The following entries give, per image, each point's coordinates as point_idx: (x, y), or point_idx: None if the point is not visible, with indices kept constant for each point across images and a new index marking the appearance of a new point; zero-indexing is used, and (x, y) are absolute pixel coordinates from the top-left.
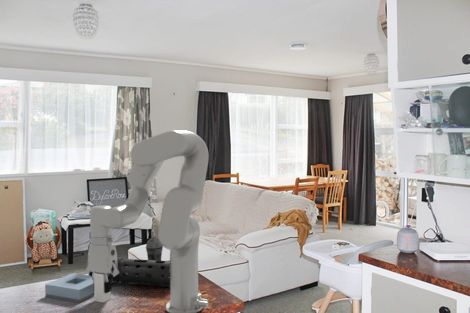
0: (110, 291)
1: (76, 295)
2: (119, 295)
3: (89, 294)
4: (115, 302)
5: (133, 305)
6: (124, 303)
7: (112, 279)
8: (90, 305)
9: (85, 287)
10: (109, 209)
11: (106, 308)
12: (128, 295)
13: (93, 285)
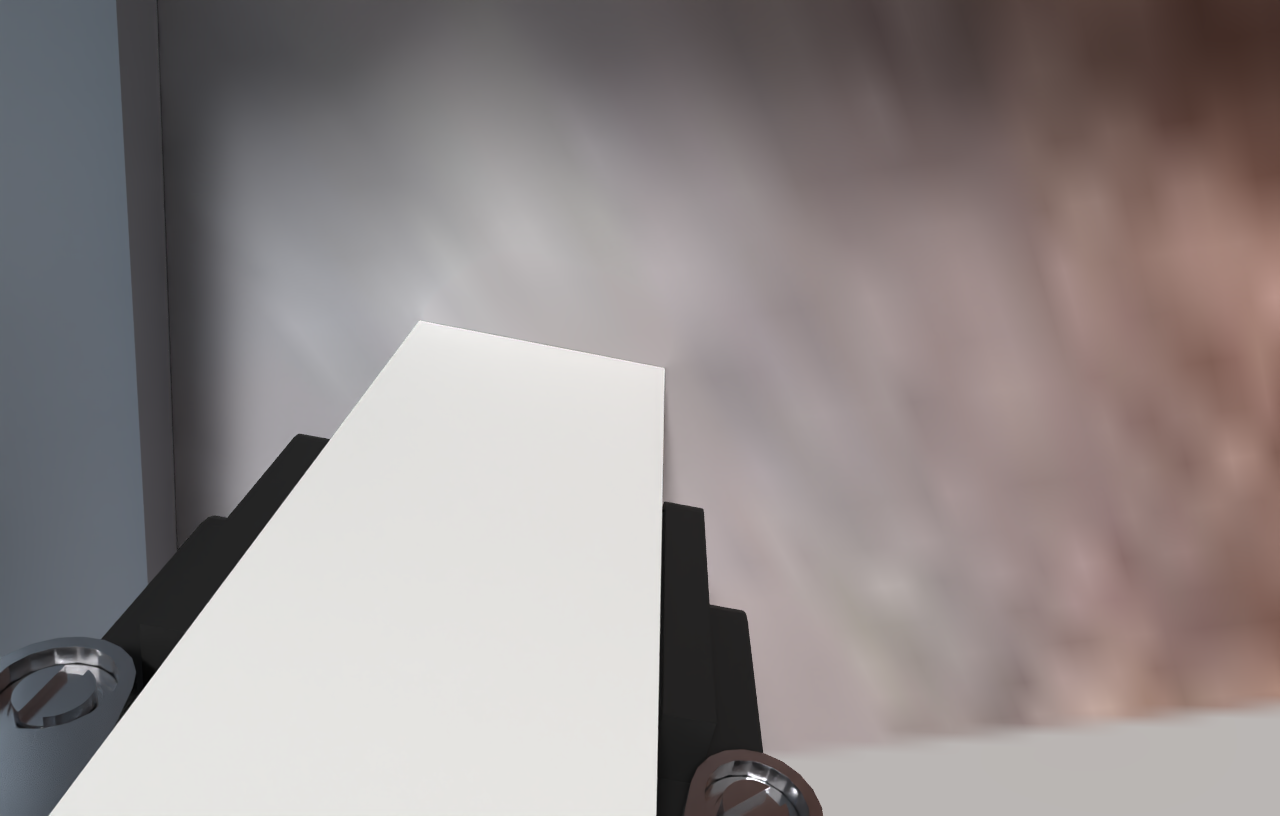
0: (659, 459)
1: None
2: (775, 148)
3: (133, 414)
4: (849, 527)
5: (1256, 602)
6: (1050, 545)
7: (803, 810)
8: None
9: (6, 650)
10: None
11: (795, 753)
12: (1012, 108)
13: (4, 351)
